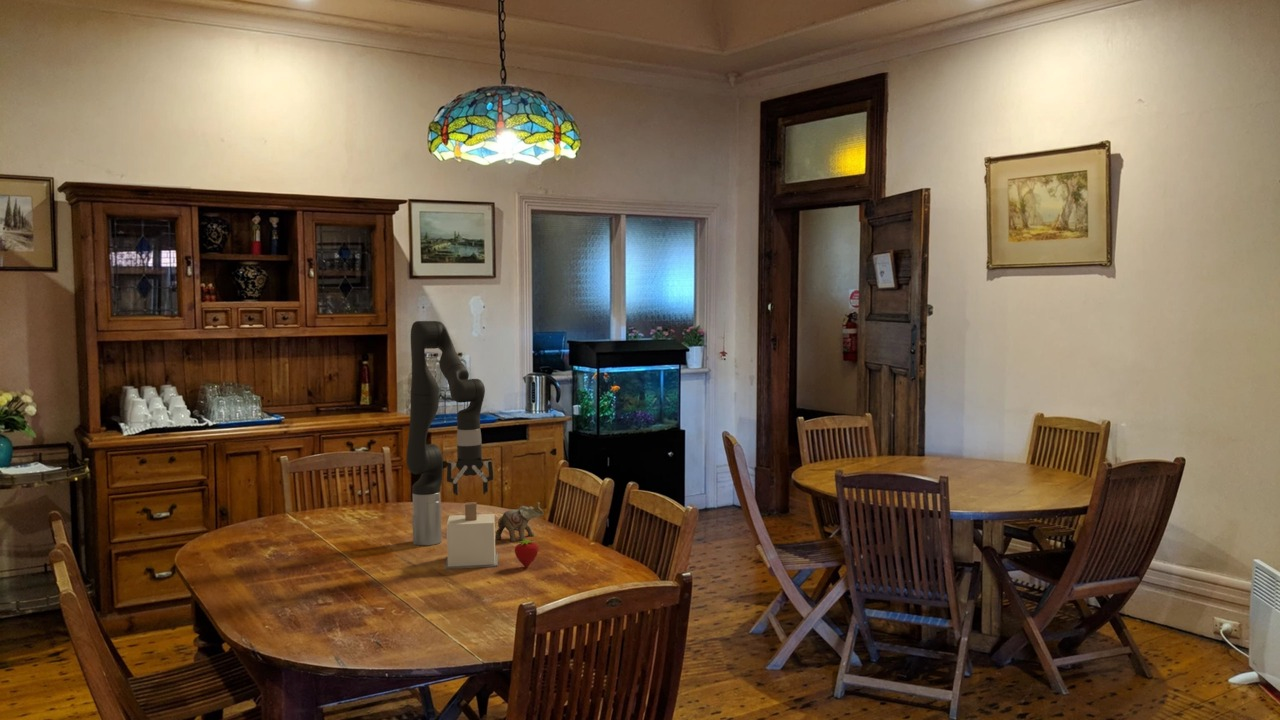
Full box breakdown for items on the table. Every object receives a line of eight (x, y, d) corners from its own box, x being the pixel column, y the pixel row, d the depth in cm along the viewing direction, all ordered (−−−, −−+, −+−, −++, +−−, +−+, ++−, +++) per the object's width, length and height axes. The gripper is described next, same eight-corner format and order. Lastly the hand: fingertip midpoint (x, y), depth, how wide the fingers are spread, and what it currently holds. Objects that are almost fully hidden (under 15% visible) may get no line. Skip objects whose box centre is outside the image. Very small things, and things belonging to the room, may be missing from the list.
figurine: (533, 551, 321) (542, 510, 319) (492, 542, 321) (501, 500, 319) (537, 542, 331) (546, 502, 328) (497, 533, 331) (506, 492, 328)
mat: (444, 569, 290) (444, 567, 290) (447, 556, 304) (447, 555, 304) (497, 566, 292) (497, 564, 292) (498, 554, 306) (498, 552, 306)
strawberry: (541, 568, 290) (541, 535, 289) (517, 571, 287) (517, 538, 286) (535, 563, 296) (535, 531, 295) (512, 566, 292) (511, 534, 292)
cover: (447, 566, 291) (446, 508, 290) (450, 555, 303) (449, 500, 302) (494, 564, 293) (493, 506, 292) (495, 553, 305) (494, 498, 304)
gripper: (445, 445, 291) (446, 498, 292) (492, 444, 293) (493, 495, 294) (446, 442, 298) (448, 493, 299) (492, 440, 300) (494, 491, 301)
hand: (470, 494), depth 297 cm, fingers open, 8 cm apart
